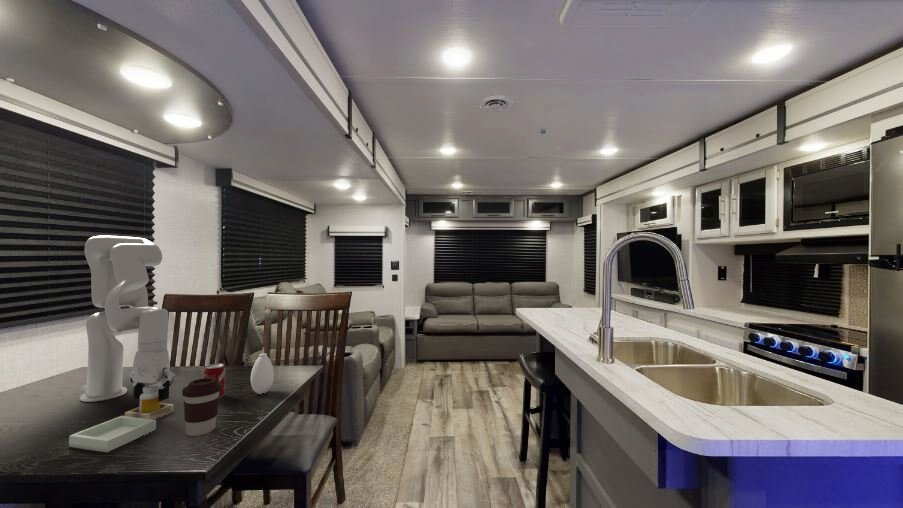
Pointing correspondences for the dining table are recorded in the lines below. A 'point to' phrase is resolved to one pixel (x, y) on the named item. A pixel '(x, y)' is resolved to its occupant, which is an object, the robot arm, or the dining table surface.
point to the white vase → (262, 374)
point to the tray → (112, 433)
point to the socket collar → (153, 415)
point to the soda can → (216, 375)
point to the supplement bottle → (149, 399)
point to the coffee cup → (201, 405)
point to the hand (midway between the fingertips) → (151, 398)
